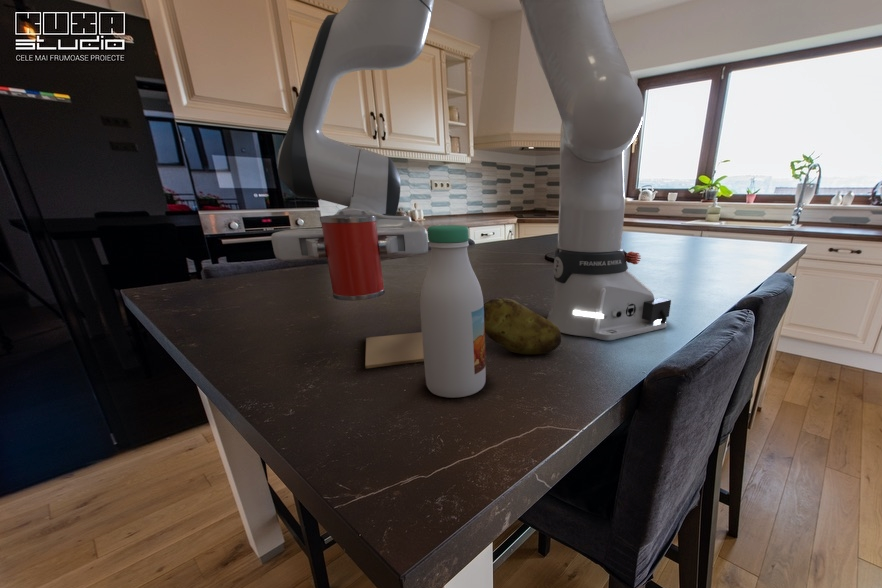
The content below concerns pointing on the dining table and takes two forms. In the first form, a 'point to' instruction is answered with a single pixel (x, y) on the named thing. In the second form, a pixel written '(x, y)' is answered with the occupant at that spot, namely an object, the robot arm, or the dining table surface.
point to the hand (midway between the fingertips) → (353, 249)
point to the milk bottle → (452, 316)
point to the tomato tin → (353, 256)
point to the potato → (519, 328)
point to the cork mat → (394, 350)
